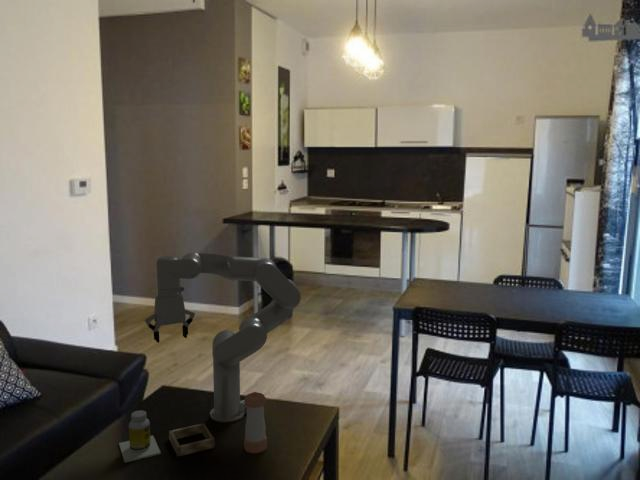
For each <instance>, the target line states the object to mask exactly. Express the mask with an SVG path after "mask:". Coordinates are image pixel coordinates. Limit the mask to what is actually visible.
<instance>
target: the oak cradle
mask: <svg viewBox="0 0 640 480" xmlns="http://www.w3.org/2000/svg"><path fill="white" fill-rule="evenodd" d="M200 434H202V435H203V437H204V439H202V440H198V441H194V442H193V441H192V442H189V443H185V444H181V445H180V443H179V441H178V440H179V439H183V438H188V437H191V436H196V435H200ZM168 438H169V442H170V444H171V446H172V448H173V450H174V452H175V454H176V456H177V457H182V456H186V455H190V454H195V453H198V452H202V451H207V450H210V449H214V448H215V447H216V446H215V444H216V443H215V438H214V436H213V434H212V433H211V432H210V430H209V429H208V427H207V425H206V423H204V422H203V423H199V424H193V425H189V426H185V427H180V428H177V429H172V430H169V431H168Z"/></svg>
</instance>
